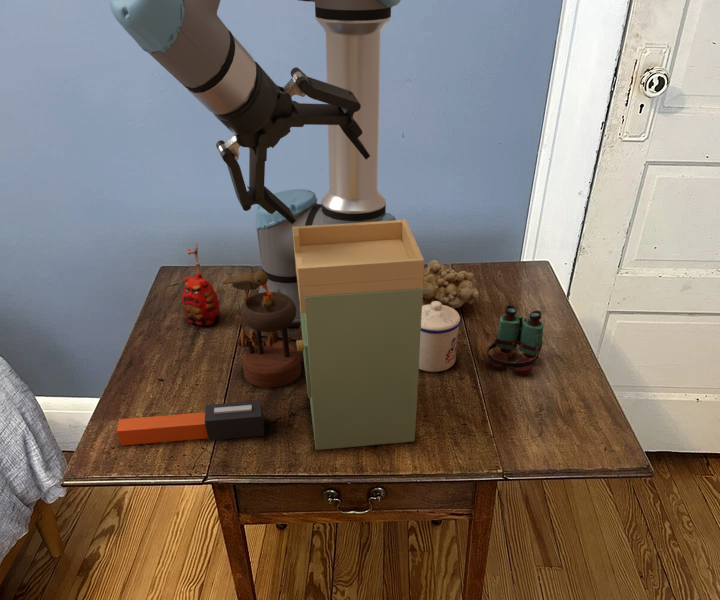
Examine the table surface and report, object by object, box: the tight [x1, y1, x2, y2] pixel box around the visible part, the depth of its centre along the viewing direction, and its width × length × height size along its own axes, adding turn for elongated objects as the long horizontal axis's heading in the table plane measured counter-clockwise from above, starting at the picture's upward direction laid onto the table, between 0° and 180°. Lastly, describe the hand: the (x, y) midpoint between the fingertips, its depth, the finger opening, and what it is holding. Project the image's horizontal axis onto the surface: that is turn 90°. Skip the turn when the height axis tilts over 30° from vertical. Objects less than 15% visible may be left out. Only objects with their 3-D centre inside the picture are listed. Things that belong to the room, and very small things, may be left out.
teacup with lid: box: [419, 301, 462, 373], centre depth 124 cm, size 12×9×12 cm
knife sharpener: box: [116, 400, 265, 447], centre depth 110 cm, size 4×23×4 cm, turn 97°
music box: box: [222, 270, 302, 389], centre depth 119 cm, size 15×11×20 cm
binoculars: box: [486, 304, 544, 377], centre depth 122 cm, size 9×11×10 cm
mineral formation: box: [422, 259, 480, 310], centre depth 139 cm, size 8×13×15 cm
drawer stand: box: [292, 219, 425, 451], centre depth 103 cm, size 14×18×30 cm
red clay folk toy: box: [180, 242, 221, 327], centre depth 134 cm, size 8×7×15 cm
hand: (326, 184), depth 96 cm, fingers open, 13 cm apart
